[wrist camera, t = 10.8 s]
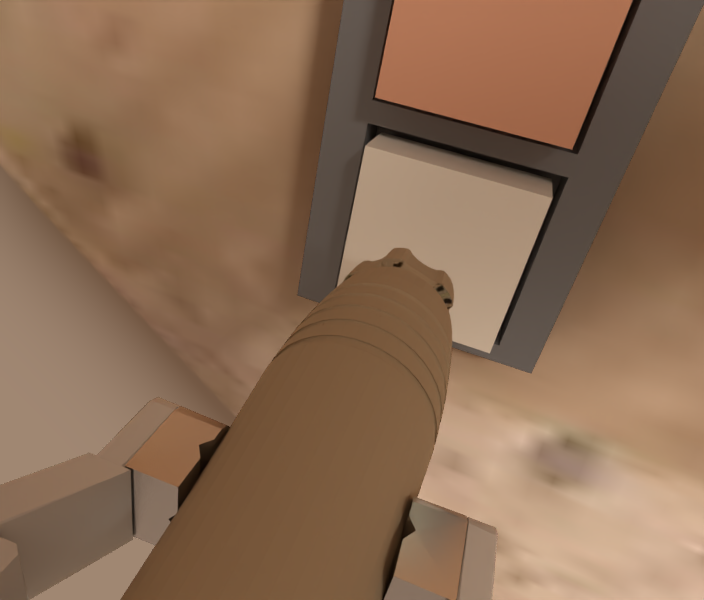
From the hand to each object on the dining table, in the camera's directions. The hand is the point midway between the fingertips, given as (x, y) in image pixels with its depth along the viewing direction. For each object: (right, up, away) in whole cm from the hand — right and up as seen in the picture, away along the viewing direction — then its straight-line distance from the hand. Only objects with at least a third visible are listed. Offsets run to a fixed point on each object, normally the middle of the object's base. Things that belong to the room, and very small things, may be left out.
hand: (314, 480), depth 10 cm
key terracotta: (+6, +13, +7) cm, 16 cm away
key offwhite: (+4, +6, +12) cm, 14 cm away
